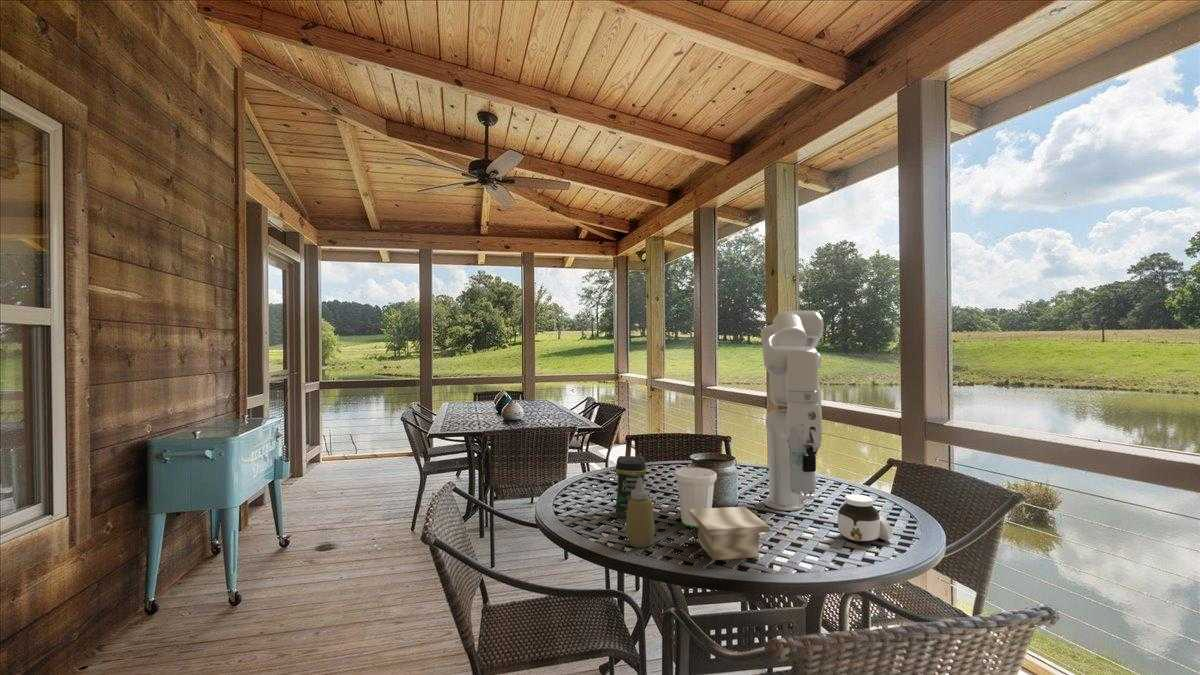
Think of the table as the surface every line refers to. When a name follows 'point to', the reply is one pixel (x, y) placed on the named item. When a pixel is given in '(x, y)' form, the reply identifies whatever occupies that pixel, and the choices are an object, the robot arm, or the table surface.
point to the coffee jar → (627, 480)
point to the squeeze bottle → (640, 517)
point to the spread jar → (862, 521)
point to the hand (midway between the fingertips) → (802, 467)
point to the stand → (729, 532)
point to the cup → (694, 491)
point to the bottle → (799, 467)
